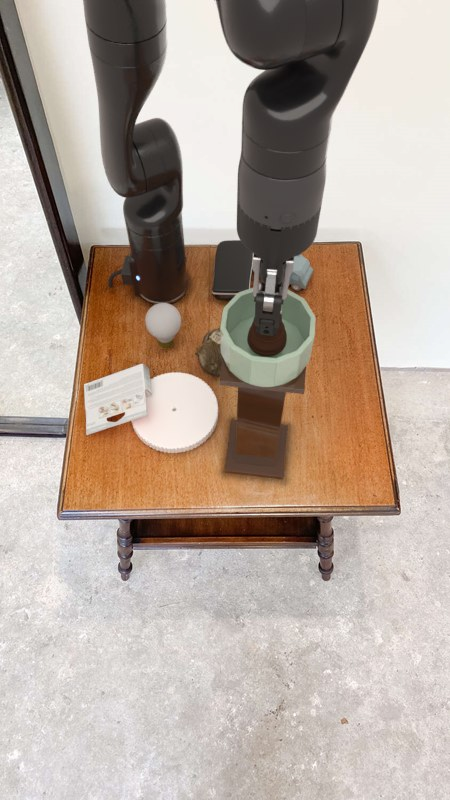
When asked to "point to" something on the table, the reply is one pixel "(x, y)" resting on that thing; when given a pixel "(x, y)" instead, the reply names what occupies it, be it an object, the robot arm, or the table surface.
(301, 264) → the toy car
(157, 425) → the plastic lid
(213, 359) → the fossilized seashell
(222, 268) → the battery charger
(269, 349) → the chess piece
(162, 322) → the light bulb
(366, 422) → the table surface
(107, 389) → the ink box
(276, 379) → the green pedestal cup
